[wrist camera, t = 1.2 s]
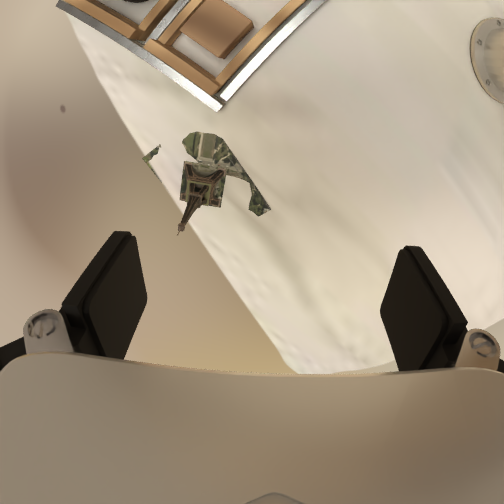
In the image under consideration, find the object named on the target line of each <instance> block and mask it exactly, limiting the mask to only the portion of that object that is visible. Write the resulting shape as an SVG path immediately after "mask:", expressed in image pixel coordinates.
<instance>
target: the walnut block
mask: <svg viewBox="0 0 504 504" xmlns="http://www.w3.org/2000/svg"><path fill="white" fill-rule="evenodd" d="M253 28H254V27H253V23H252V21H251V20H250V19H248V18H247V17H246V16H244V15H243V14H241V13H240V12H239V11H237V10H236V9H234V8H233V7H231V6H230V5H228V4H227V3H225V2H224V1H222V0H206V1H205V2H204V3H203V4H202V5H201V6H200V7H199V8H198V9H197V11H196V12H195V13H194V14H193V15H192V16H191V17H190V18H189V20H188V21H187V22H186V23H185V24H184V25H183V27H182V28H181V29H180V30H179V31H181V32H182V33H184V34H185V35H187V36H188V37H190V38H191V39H193V40H194V41H196V42H197V43H199V44H200V45H201V46H203V47H204V48H206V49H207V50H208V51H210V52H211V53H213V54H214V55H215V56H217V57H218V58H222V59H225V58H226V57H227V55H228V54H229V53H230V52H231V51H232V50H233V49H234V48H235V47H236V46H237V44H238V43H239V42H240V41H241V40H242V39H243V38H244V37H245V36H246V35H247V34H248V33H249V32H250V31H251V30H252V29H253Z"/></svg>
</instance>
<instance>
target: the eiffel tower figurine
mask: <svg viewBox="0 0 504 504" xmlns="http://www.w3.org/2000/svg"><path fill="white" fill-rule="evenodd" d="M182 144H183V145H184V147H185V149H186V151H187V153H188V154H189V155H191V156H192V157H193V158H194V159H196V160H197V161H198V163H193V162H187V161H184V167H183V175H182V183H181V192H180V200H181V201H185V202H187V207H186V210H185V212H184V215H183V218H182V221H181V223H180V224H179V225H178V231H179V232H180V231H183V230H184V229H185V225H186V223H187V222H188V220H189V219H190V217H191V216H192V214H193V213H194V211H195V210H196V209H197V208H200V207H201V205H206V206H208V205H209V206H214V207H221V201H222V195H223V189H224V183H225V177H226V175H230V176H234V177H237V178H240V179H243V180H246V181H247V182H249V183H250V187H251V192H252V197H251V200H250V204H249V210H250V211H252V212H254V213H255V214H256V215H257V216H260V215H262V214H264V213H266V212H267V211H269V210H271V209H270V207H269V206H268V204H267V203H266V201H265V200H264V198H263V197H262V195H261V194H260V192H259V191H258V189H257V188H256V186H255V185H254V183H253V182H252V180H251V179H250V177H249V176H248V175H247V173H246V172H245V170H244V169H243V167H242V166H241V165H240V163H239V162H238V160H237V159H236V157H235V156H234V155H233V153H232V152H231V150H230V149H229V147H228V146H227V144H226V143H225V141H224V140H223V139H222V138H220V137H218V136H217V135H215V134H209V133H201V132H194V133H190V134H189V135H188V136H187V137H186V138H185V139H183V141H182ZM159 147H161V145H159V146H157V147H156V148H155V149H154V150H152V151H151V152H150V153H149V154H147V155H146V156H145V157H144V158H143V160H144V161H145V162H146V163H147V165H148V166H149V168H150V169H151V170H152V171H153V173H154V174H155V175H156V176H157V178H158V179H159V180H160V178H159V177H158V175H157V174H156V172H155V171H154V169H153V167H152V166H151V164H150V163H149V160H151V159H152V157H153V156H154V155H156V154H157V153H158V150H159ZM199 163H200V164H199ZM160 182H161V183H162V181H161V180H160ZM162 184H163V183H162ZM163 185H164V184H163ZM164 187H165V186H164ZM165 188H166V187H165ZM179 232H178V234H179ZM178 234H177V235H178Z"/></svg>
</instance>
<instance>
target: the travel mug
mask: <svg viewBox="0 0 504 504" xmlns="http://www.w3.org/2000/svg"><path fill="white" fill-rule="evenodd" d="M124 1H128V2H134V3H138V2H144V1H147V0H124Z"/></svg>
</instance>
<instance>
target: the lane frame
mask: <svg viewBox="0 0 504 504" xmlns="http://www.w3.org/2000/svg"><path fill="white" fill-rule="evenodd" d="M190 1H191V0H178V2H177V3H176V4H175V5H174V6H173V7H172V9H171V10H170V11H169V12H168V13H167V14H166V16H165V17H164V18H163V19H162V20H161V22H160V23H159V24H158V25H157V27H156V28H155V29H154V30H153V32H152V33H151V34H150V36H149V37H148V38H147V40H146V41H145V42H144V43H147V41H148V40H149V39H150V38H151V39H155V40H158V39H159V38H160V36H161V35H162V34H163V33H164V31H165V30H166V29H167V28H168V26H169V25H170V24H171V23H172V22H173V20H174V19H175V18H176V17H177V16H178V14H179V13H180V12H181V11H182V10H183V9H184V8H185V6H186V5H187V4H188V3H189V2H190ZM325 1H326V0H312V1H311V2H310V3H309V4H308V5H307V6H306V7H304V8H303V9H302V10H301V11H300V12H299V13H298V14H297V15H296V16H295V17H294V18H293V19H292V20H291V21H290V22H289V23H287V24H286V25H285V26H284V27H283V28H282V29H281V30H280V31H279V32H278V33H277V34H276V35H275V36H274V37H273V38H272V39H271V40H270V41H269V42H268V43H267V44H266V45H265V47H264V48H263V49H262V50H261V51H260V52H259V53H258V54H257V55H256V56H255V57H254V58H253V59H252V60H251V61H250V62H249V63H248V65H247V66H246V67H245V68H244V69H243V70H242V71H241V72H240V73H239V74H238V76H237V77H236V78H235V79H234V80H233V81H232V82H231V83H230V85H229V86H228V87H227V88H226V89H225V90H224V91H223V93H222V94H221V95H220V97H222V98H223V99H224V100H226V101H228V100H229V99H230V98H231V96H232V95H233V94H234V93H235V92H236V91H237V90H238V88H239V87H240V86H241V85H242V84H243V83H244V82H245V81H246V80H247V78H248V77H249V76H250V75H251V74H252V73H253V72H254V71H255V70H256V69H257V68H258V67H259V65H260V64H261V63H262V62H263V61H264V60H265V59H266V58H267V57H268V56H269V55H270V54H271V53H272V52H273V51H274V50H275V49H276V48H277V47H278V46H279V45H280V44H281V43H282V42H283V41H284V40H285V39H286V38H287V37H288V36H289V35H290V34H291V33H292V32H293V31H294V30H295V29H296V28H297V27H298V26H299V25H300V24H301V23H302V22H303V21H304V20H305V19H307V18H308V17H309V16H310V15H311V14H312V13H313V12H314V11H315V10H316V9H317V8H318V7H320V6H321V5H322V4H323V3H324V2H325ZM56 7H58V8H60V9H62V10H64V11H65V12H67V13H69V14H71V15H72V16H74V17H76V18H78V19H79V20H81V21H83V22H84V23H86V24H88V25H90V26H91V27H93V28H95V29H96V30H98V31H99V32H101V33H103V34H104V35H106V36H108V37H109V38H111V39H112V40H114V41H115V42H117V43H119V44H120V45H122V46H123V47H125V48H126V49H128V50H129V51H131V52H133V53H134V54H136V55H137V56H139V57H140V58H142V59H143V60H145V61H146V62H147V63H149V64H150V65H152V66H153V67H155V68H156V69H158V70H159V71H161V72H162V73H163V74H165V75H166V76H168V77H169V78H171V79H172V80H173V81H175V82H176V83H178V84H179V85H180V86H182V87H183V88H184V89H186V90H187V91H189V92H190V93H191V94H193V95H194V96H195V97H197V98H198V99H199V100H201V101H202V102H203V103H205V104H206V105H207V106H209V107H210V108H211V109H213V110H214V111H215V112H218V111H219V110H220V109H221V108H222V107H223V106H224V104H225V103H224V102H223V101H222V100H220V99H219V98H218V97H216V96H215V95H214V94H213V95H209V94H208V93H207V92H205V91H204V90H203V89H201V88H200V87H199V86H197V85H196V84H195V83H193V82H192V81H190V80H189V79H188V78H186V77H185V76H183V75H182V74H181V73H179V72H178V71H176V70H175V69H174V68H172V67H171V66H169V65H168V64H166V63H165V62H163V61H162V60H161V59H159V58H158V57H156V56H155V55H153V54H152V53H150V52H149V51H147V50H146V49H144V48H143V47H144V45H143V44H141V43H140V42H138V41H137V40H135V39H129V38H127V37H126V36H124V35H122V34H121V33H119V32H118V31H116V30H114V29H113V28H111V27H109V26H108V25H106V24H104V23H103V22H101V21H99V20H98V19H96V18H94V17H92V16H91V15H89V14H87V13H85V12H84V11H82V10H80V9H78V8H77V7H75V6H73V5H71V4H69V3H67V2H65V1H64V0H59V1H58V3H57V5H56Z"/></svg>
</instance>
